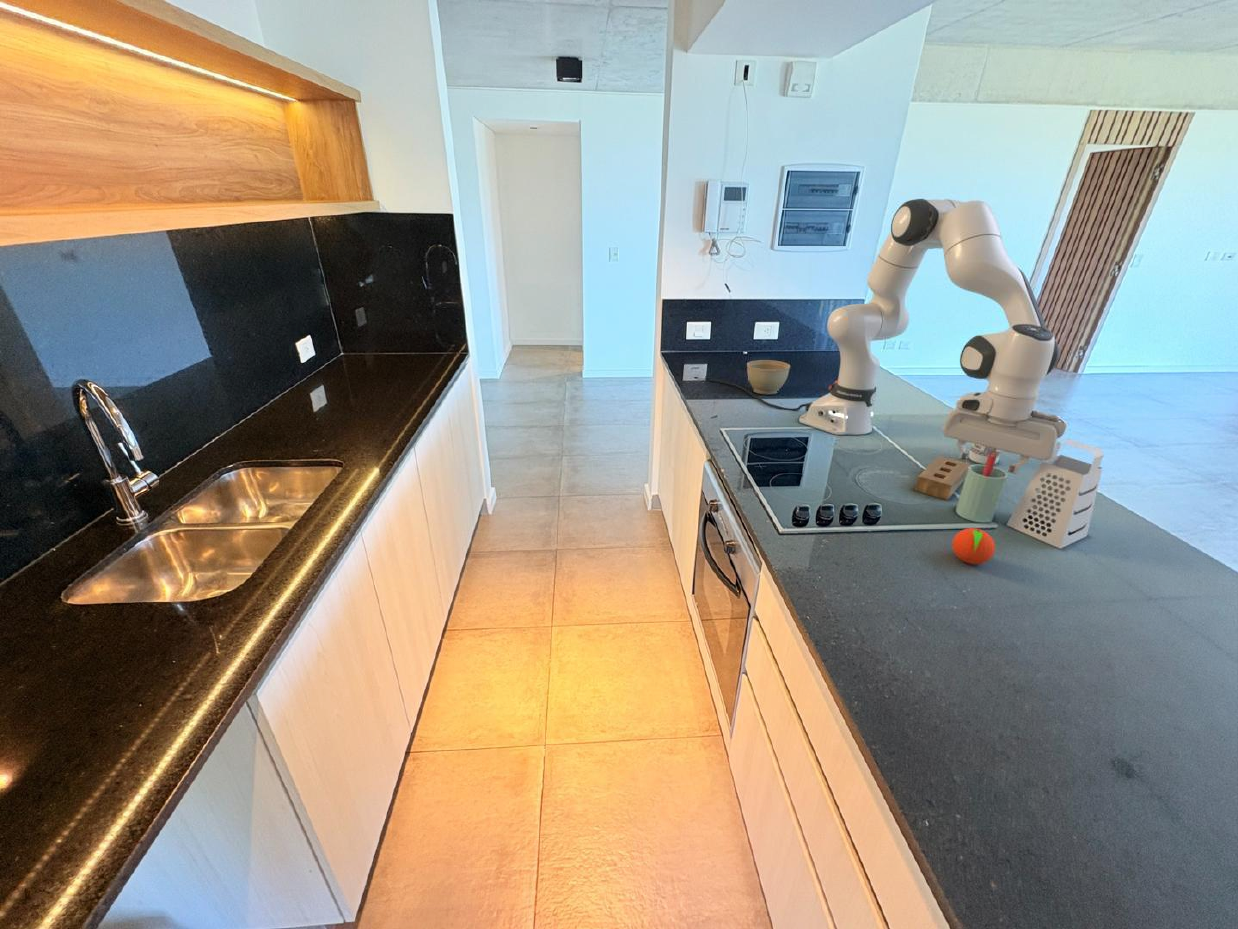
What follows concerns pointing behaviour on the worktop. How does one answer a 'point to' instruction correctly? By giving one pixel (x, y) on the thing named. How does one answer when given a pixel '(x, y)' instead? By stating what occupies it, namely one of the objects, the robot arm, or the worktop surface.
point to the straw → (989, 465)
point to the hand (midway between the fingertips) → (987, 465)
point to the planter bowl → (767, 375)
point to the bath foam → (982, 453)
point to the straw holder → (942, 477)
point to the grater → (1060, 497)
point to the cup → (980, 494)
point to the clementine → (973, 546)
